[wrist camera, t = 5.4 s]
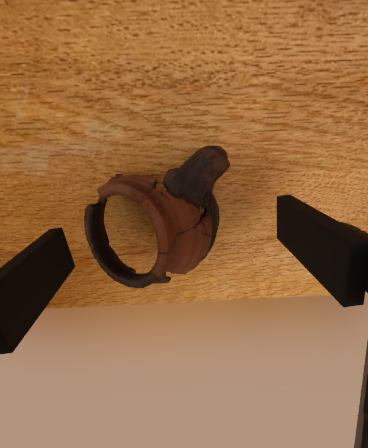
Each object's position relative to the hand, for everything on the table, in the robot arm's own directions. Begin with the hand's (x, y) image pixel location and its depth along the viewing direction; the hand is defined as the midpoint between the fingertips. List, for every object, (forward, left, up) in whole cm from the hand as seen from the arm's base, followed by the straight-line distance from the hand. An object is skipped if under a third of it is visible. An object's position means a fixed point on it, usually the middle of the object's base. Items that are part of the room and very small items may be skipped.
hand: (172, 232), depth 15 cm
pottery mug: (0, 0, -7) cm, 7 cm away
